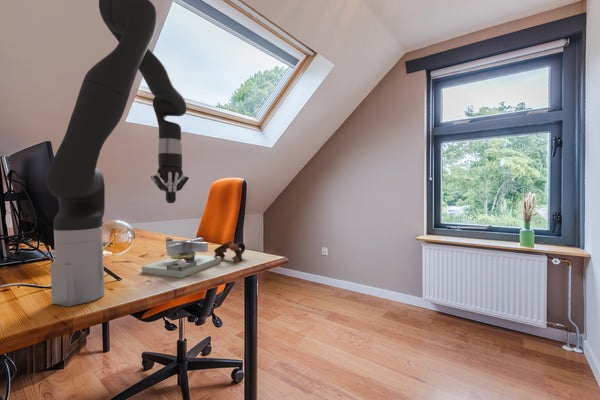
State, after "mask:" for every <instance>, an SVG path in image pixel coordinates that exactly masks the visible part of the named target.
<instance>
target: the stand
mask: <svg viewBox="0 0 600 400" xmlns="http://www.w3.org/2000/svg"><path fill="white" fill-rule="evenodd" d="M178 261H179V259H171V258H170V257H169V258H166V259H163V260H159V261H156V262H153V263H149V264H146V265H141V273H143V274H149V275H157V276H165V277H172V278H178V279H179V278H180V279H182V278H184V277H187V276H189V275H193V274H194V273H197V272H200V271H203V270H205V269H207V268H208V269H209V268H210V267H213V266H215V265H218V264H220V263H221V258H220V256H219V257H218V256H216V257H215V255H202V254H196V256H195V260H194V261H186V264H185V265H182V266H178V264H177V263H178Z"/></svg>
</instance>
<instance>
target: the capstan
mask: <svg viewBox="0 0 600 400" xmlns="http://www.w3.org/2000/svg"><path fill="white" fill-rule="evenodd" d="M165 249H166V253H167V256H169V258H171V259H179V260H180V259H184V260H186V261H194V260H195V256H196V255H197V254H196V253H207V252H209V243H208V242H207V241H204V237H197V238H192V239H185V240H177V239H176V240H175V239H173V238H166V239H165Z"/></svg>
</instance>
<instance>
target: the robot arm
mask: <svg viewBox="0 0 600 400" xmlns="http://www.w3.org/2000/svg"><path fill="white" fill-rule="evenodd" d="M98 10H99V13H100V16H101V18H102V21H103V22H104V24H105V25H106V27H107V29H108V30H109V31H110V32H111V34H112V35H113V37H114V38H115V39H116V40H117V42H118V44H117V45H116V47H115V48H114V49H113V50H112V51H110V53H109V54H107V55H106V56H105V57H103V58H101V59H100V60H99V61H98V62H97V63H96V64H94V65H93V66H92V67H91V68H90V69H89V70H88V71H87V72H86V74H85V75H84V78H83V81H82V84H81V86H80V89H79V92H78V94H77V99H76V101H75V105H74V107H73V110H72V112H71V116H70V119H69V123H68V125H67V129H66V132H65V134H64V137H63V139H62V141H61V144H60V145H59V147H58V149H57V151H56V154H55V155H54V157H53V159H52V160H51V163H50V165H49V166H48V168H47V172H46V176H45V183H46V187H47V189H48V190H49V192H50V194H52V196H55V197H56V198H57V199H59V200H60V201H59V202H60V204H59V205H60V206H59V209H58V213H56V215H55V217H54V218H53V239H54V240H53V242H54V244H53V245H54V261H52V262H50V285H51V286H50V289H51V304H52V305H53V304H54V305H57V306H64V307H67V308H70V307H72V306H73V307H74V306H76V305H81V304H86V303H90V302H93V301H96V300H98V299H101V298H103V296H104V295H105V275H104V274H105V271H104V270H105V269H104V243H103V242H104V239H103V219H104V216H105V207H106V206H105V204H106V203H105V202H106V201H105V200H106V197H105V195H106V193H105V191H106V189H105V178H104V175H103V173H102V172H101V170H100V169H99V168H98V167H97V165H98V160H99V157H100V153H101V151H102V147H103V146H104V144H105V142H106V141H107V139H108V138H109V136H110V135H111V134H112V132H113V131H114V130H115V129H116V127H117V126H118V124H119V123H120V121H121V119H122V117H123V115H124V111H125V110H126V107H127V103H128V100H129V97H130V94H131V90H132V88H133V84H134V82H135V79H136V76H137V74H138V71H139V72H140V75H142V78H143V79H144V81H145V83H146V85H147V87H148V89H149V91H150V92H151V94H152V95H153V99H152V108H153V110H154V113H155V117H156V121H157V125H158V143H157V144H158V147H157V152H158V155H157V156H158V158H157V159H158V169H157V171H156V173H155V174H154V175H151V176H150V179H151V180H152V181H153V183H154V184H155V185H156V186H157V188H158V189H159V190H160V191H163V192H165V201H166V203H167V204H174V203H175V202H176V199H177V197H176V196H177V195H176V193H177V192H178V191H181V190H183V187H184V186H185V184H186V183H187V182H188V181H189V179H190V178H189V176H186V175H184V174H183V173H184V172H183V170H182V169H183V146H182V145H183V144H182V127H181V125H180V124H179V123H177V122H174V121H169V120H168V119H167V117H183V116H184V115H185V114H186V112H187V110H188V106H187V102H186V100H185V97H184V96H183V95H182V94H181V93H180V91H179V90H178V89H177V88H176V87H175V85H174V84H173V83H172V79H171V77H170V75H169V73H168V71H167V69H166V67H165V66H164V64H163V63H162V62H161V60H160V59H159V58H158V57H157V56H156V55H155V54H154V53H153V52H152V50H150V49H149V46H150V45H151V43H152V41H153V38H154V36H155V34H156V30H157V25H158V13H157V9H156V7H155V5H154V4H153V3H152V2H151V1H150V0H98Z"/></svg>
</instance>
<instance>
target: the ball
mask: <svg viewBox="0 0 600 400" xmlns="http://www.w3.org/2000/svg"><path fill="white" fill-rule="evenodd" d="M177 264H178V266H182V265H185V264H186V260H184V259H180V260H179V261H178V263H177Z"/></svg>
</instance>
